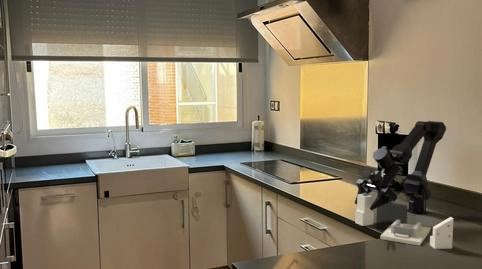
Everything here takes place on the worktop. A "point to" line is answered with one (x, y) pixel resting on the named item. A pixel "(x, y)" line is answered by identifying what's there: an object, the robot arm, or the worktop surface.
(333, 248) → the worktop surface
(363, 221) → the block
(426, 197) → the robot arm
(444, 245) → the white angled block
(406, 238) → the rail mount
